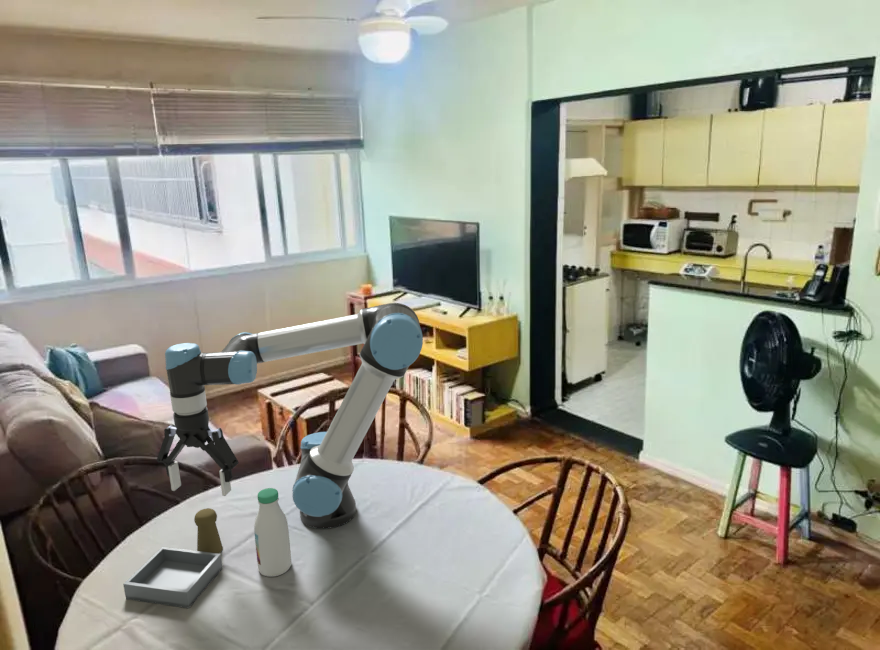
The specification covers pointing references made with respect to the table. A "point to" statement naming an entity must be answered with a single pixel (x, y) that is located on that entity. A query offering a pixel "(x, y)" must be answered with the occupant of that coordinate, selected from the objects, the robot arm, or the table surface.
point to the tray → (173, 577)
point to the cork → (207, 531)
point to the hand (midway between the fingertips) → (201, 490)
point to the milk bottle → (271, 535)
